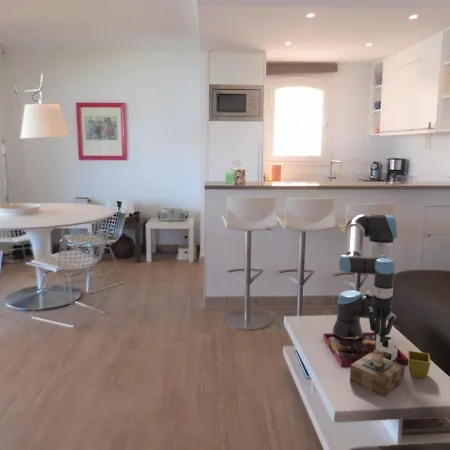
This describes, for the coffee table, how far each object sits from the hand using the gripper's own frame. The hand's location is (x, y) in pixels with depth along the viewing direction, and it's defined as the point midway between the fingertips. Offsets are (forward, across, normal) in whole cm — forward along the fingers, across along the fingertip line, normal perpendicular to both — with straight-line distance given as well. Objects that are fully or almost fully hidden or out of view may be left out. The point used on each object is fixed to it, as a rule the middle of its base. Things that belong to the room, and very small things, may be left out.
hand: (378, 348), depth 194 cm
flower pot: (+16, +9, +19) cm, 27 cm away
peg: (+10, 0, 0) cm, 10 cm away
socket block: (+16, 0, 0) cm, 16 cm away
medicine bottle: (+16, -6, +19) cm, 26 cm away
